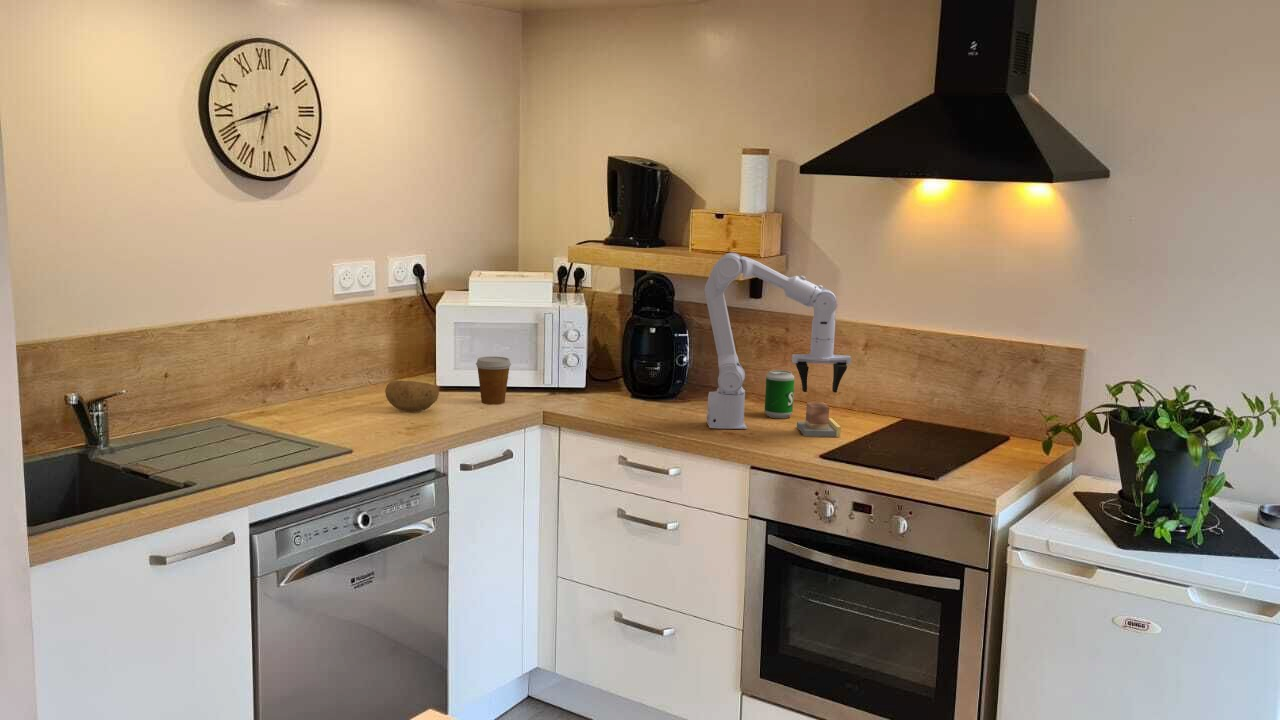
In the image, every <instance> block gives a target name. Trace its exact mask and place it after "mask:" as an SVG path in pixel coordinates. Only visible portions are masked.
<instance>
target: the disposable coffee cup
mask: <svg viewBox="0 0 1280 720" xmlns="http://www.w3.org/2000/svg"><path fill="white" fill-rule="evenodd" d="M475 365H476V368H477V375H478V382H479V391H480V393H479V394H480V398H481V399H480V400H481V401H480V402H481V403H482V404H483V405H491V404H495V405H502V403H503V404H504V403H506V402H505V401H506V395H507V389H508V388H507V386H508V379H509V375H510V374H509V373H510V368H511V366H512V363H511V361H510V358H508V357H504V356H482V357H477V361H476V363H475Z"/></svg>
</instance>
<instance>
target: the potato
mask: <svg viewBox="0 0 1280 720" xmlns="http://www.w3.org/2000/svg"><path fill="white" fill-rule="evenodd" d="M384 393H385V397H386V399H387V401H388V402H389V404H390V405H391V406H393V407H394V408H395V409H397V410H400V411H403V412H407V413H413V412H418V411H425V410H428V409H429V408H431V406H432V405H433V404H435V403H436V402H437V401H438V398H439V395H440V392H439V388H438V387H437V386H436V385H434V384H431V383H429V382H428V383H427V382H420V381H415V380H414V381H413V380H392V381H389V383H387V384H386V387H385V391H384Z"/></svg>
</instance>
